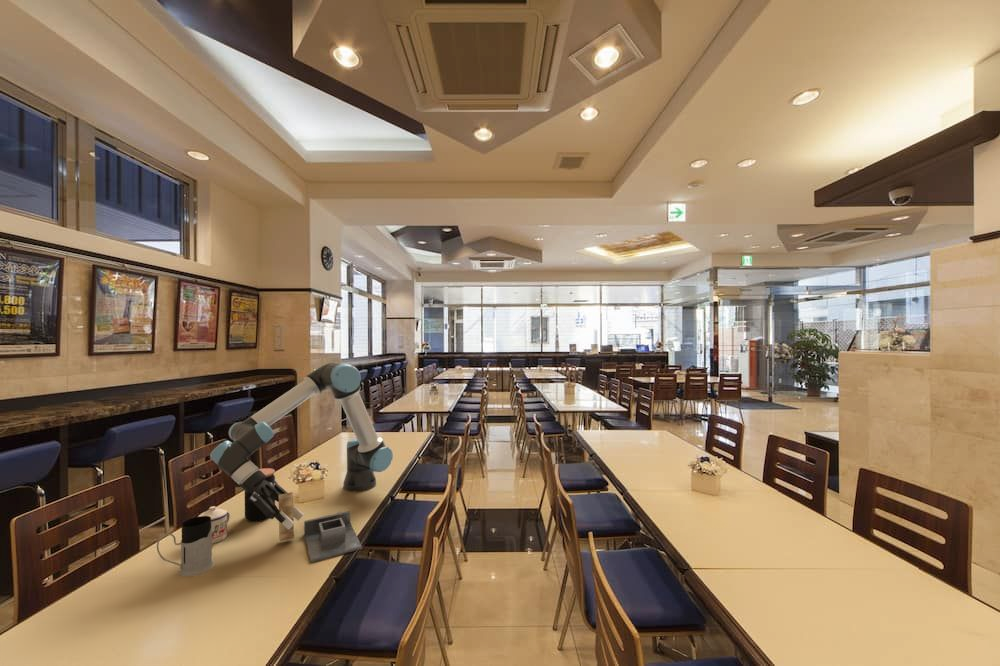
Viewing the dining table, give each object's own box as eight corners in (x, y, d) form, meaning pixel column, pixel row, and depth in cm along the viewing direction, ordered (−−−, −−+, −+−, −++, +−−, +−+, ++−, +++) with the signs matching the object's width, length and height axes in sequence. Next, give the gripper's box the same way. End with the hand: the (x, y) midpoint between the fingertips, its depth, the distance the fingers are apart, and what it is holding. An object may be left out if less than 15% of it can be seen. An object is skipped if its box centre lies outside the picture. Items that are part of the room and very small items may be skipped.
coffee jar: (280, 511, 170) (280, 468, 170) (263, 523, 159) (263, 477, 159) (257, 510, 171) (256, 467, 171) (238, 522, 160) (238, 476, 160)
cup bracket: (349, 523, 158) (349, 508, 158) (361, 549, 139) (361, 531, 139) (304, 534, 150) (304, 518, 150) (310, 562, 131) (310, 544, 131)
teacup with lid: (213, 546, 142) (213, 513, 142) (190, 545, 143) (190, 512, 143) (239, 529, 154) (239, 499, 154) (218, 528, 155) (217, 498, 155)
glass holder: (217, 567, 129) (217, 520, 129) (160, 589, 118) (160, 537, 118) (208, 557, 135) (208, 512, 135) (153, 577, 124) (153, 528, 124)
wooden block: (293, 533, 147) (292, 492, 147) (293, 538, 144) (293, 496, 144) (279, 536, 145) (278, 494, 145) (279, 541, 141) (279, 499, 141)
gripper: (257, 475, 154) (301, 517, 154) (224, 495, 135) (274, 543, 135) (271, 461, 154) (315, 503, 154) (240, 479, 135) (290, 527, 135)
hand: (296, 522), depth 144 cm, fingers closed on wooden block, 6 cm apart
